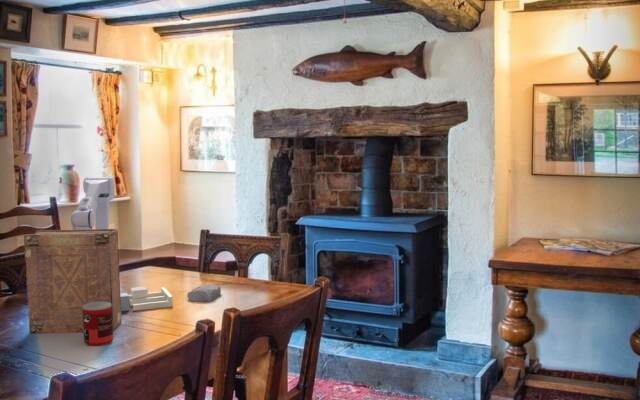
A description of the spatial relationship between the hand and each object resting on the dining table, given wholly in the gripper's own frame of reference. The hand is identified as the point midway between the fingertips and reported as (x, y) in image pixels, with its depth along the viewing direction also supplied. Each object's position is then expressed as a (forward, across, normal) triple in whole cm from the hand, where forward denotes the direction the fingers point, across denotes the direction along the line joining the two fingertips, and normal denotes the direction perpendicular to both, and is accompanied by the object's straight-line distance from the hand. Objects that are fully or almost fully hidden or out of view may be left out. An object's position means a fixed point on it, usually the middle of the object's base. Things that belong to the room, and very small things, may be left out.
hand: (86, 286), depth 220 cm
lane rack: (+9, +20, +4) cm, 22 cm away
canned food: (+9, 0, -35) cm, 36 cm away
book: (+9, -4, -17) cm, 20 cm away
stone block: (+10, +40, +4) cm, 42 cm away
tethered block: (+9, +6, 0) cm, 11 cm away
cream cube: (+9, +18, +7) cm, 21 cm away
